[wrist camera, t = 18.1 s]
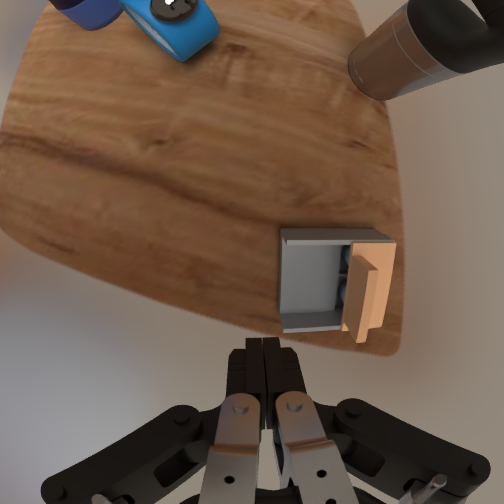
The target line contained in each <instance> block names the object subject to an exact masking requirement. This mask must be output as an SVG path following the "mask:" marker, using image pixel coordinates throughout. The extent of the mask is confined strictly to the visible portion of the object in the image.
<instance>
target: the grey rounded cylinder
mask: <svg viewBox="0 0 504 504" xmlns="http://www.w3.org/2000/svg"><path fill="white" fill-rule="evenodd" d="M346 285H347V278H346V279H345V280H343V281H342V282H341V283H340V285H339V287H338V295H339V297H340V299H341V300H342V302H343V303H344V300H345V293H346Z"/></svg>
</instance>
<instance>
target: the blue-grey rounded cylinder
mask: <svg viewBox="0 0 504 504" xmlns="http://www.w3.org/2000/svg"><path fill="white" fill-rule="evenodd" d="M350 248H351V245H345V246H344V247H343V250H342V258H343V260H344V262H345V263H346V264H347V265H348V266H349V259H350Z"/></svg>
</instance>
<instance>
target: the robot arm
mask: <svg viewBox="0 0 504 504" xmlns="http://www.w3.org/2000/svg"><path fill="white" fill-rule="evenodd" d="M472 2H473V3H474V5H475V6H476V8H477V9H478V11H479V12H480V14H481V15H482V17H483V19H484V20H485V22H486V23H485V22H484V21H483V20H482V19H480V18H479V17H478V16H477V15H476V14H475V13H474V12H473V11H472V10H471V9H470V8H469V7H468V6H466V5H465V4H464V3H463V2H462V1H460V0H409V1H408V2H407V3H405V4H404V5H403V6H402V7H401V8H400V9H398V10H397V11H396V12H395V13H394V14H393V15H392V16H391V17H389V18H388V19H387V20H386V21H385V22H384V23H383V24H382V25H380V26H379V27H378V28H377V29H376V30H375V31H374V32H373V33H372V34H371V35H370V36H369V37H367V38H366V39H365V40H364V41H363V42H362V43H361V44H360V45H359V46H358V47H357V48H356V49H355V50H354V51H353V52H352V53H351V55H350V57H349V61H348V69H349V73H350V75H351V78H352V80H353V81H354V83H355V84H356V86H357V87H358V88H359V89H360V90H361V91H362V92H364V93H365V94H366V95H368V96H370V97H372V98H375V99H378V100H390V99H392V98H395V97H398V96H401V95H404V94H406V93H409V92H412V91H415V90H417V89H420V88H423V87H426V86H429V85H432V84H435V83H437V82H441V81H444V80H447V79H450V78H453V77H456V76H459V75H463V74H466V73H469V72H473V71H476V70H479V69H482V68H485V67H489V66H493V65H497V64H501V63H504V0H472ZM265 418H266V427H267V429H272V430H273V449H274V454H275V459H276V464H277V469H278V474H279V479H280V490H266V489H260V488H257V483H258V464H259V444H260V442H261V430H262V429H265ZM205 465H206V469H205V473H204V478H203V483H202V488H201V493H200V494H197V495H194V496H192V497H190V498H188V499H186V500H184V501H183V502H181V503H180V504H386V503H384V502H382V501H381V500H379V499H377V498H376V497H374V496H372V495H371V494H369V493H367V492H366V491H364V490H362V489H359V488H357V487H354V486H352V484H351V481H350V479H349V476H348V474H347V472H349V473H350V474H352V475H354V476H355V477H357V478H359V479H360V480H362V481H364V482H366V483H367V484H369V485H371V486H373V487H374V488H376V489H378V490H380V491H382V492H384V493H385V494H387V495H389V496H391V497H393V498H395V499H397V500H399V504H464V503H465V501H466V499H467V497H468V496H469V495H470V494H471V493H472V492H473V491H474V490H476V489H477V488H478V487H479V486H480V485H481V484H482V483H483V482H485V481H486V480H487V478H488V477H489V474H490V470H491V469H490V468H491V467H490V463H489V461H488V460H487V459H486V458H485V457H484V456H482V455H480V454H477V453H474V452H472V451H469V450H466V449H464V448H462V447H459V446H457V445H455V444H452V443H450V442H447V441H445V440H443V439H440V438H438V437H436V436H434V435H432V434H429V433H427V432H425V431H423V430H421V429H418V428H416V427H414V426H412V425H410V424H407V423H406V422H404V421H402V420H400V419H398V418H396V417H394V416H392V415H390V414H388V413H386V412H384V411H382V410H380V409H378V408H376V407H374V406H372V405H370V404H368V403H367V402H364V401H363V400H360V399H355V398H351V399H345V400H343V401H341V402H340V403H339V404H338V405H337V406H328V405H322V404H318V403H316V402H314V401H313V400H312V399H311V397H310V396H308V395H307V392H306V388H305V384H304V380H303V376H302V372H301V370H300V364H299V360H298V357H297V354H296V352H294V350H293V349H292V348H291V347H285V348H281V347H280V341H279V337H266V338H263V339H262V338H246V349H234V350H233V351H232V352H231V354H230V355H229V360H228V373H227V388H226V398H225V400H224V401H223V403H222V404H221V405H220V406H218V407H216V408H214V409H212V410H208V411H203V412H199V411H198V410H197V409H196V408H194V407H192V406H188V405H177V406H174V407H171V408H169V409H168V410H166V411H165V412H163V413H162V414H160V415H159V416H157V417H156V418H154V419H153V420H151V421H149V422H148V423H146V424H145V425H143V426H142V427H140V428H138V429H137V430H135V431H134V432H132V433H130V434H128V435H127V436H125V437H123V438H122V439H120V440H119V441H117V442H115V443H113V444H112V445H110V446H108V447H106V448H105V449H103V450H101V451H99V452H98V453H96V454H94V455H92V456H90V457H88V458H86V459H85V460H83V461H81V462H79V463H77V464H75V465H73V466H71V467H69V468H67V469H65V470H63V471H61V472H59V473H57V474H55V475H53V476H51V477H49V478H47V479H46V480H45V481H44V482H43V484H42V486H41V496H42V498H43V500H44V501H45V503H46V504H154V503H156V502H157V501H159V500H160V499H161V498H163V497H165V496H166V495H167V494H169V493H170V492H171V491H173V490H174V489H176V488H177V487H178V486H179V485H181V484H182V483H183V482H185V481H186V480H187V479H189V478H190V477H191V476H193V475H194V474H195V473H196V472H198V471H199V470H200V469H201V468H202V467H204V466H205Z"/></svg>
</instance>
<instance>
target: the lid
mask: <svg viewBox="0 0 504 504" xmlns="http://www.w3.org/2000/svg"><path fill="white" fill-rule="evenodd" d="M395 249H396V243H395V242H393V241H356V242H351V248H350V259H349V268H348V277H347V285H346V293H345V300H344V307H343V314H342V321H341V327H340V328H341V330H342V331H348V330H349V332H350V333H351V335H352V337H353V339H354V340H355V342H356V343H361V342H365V341H366V337H367V332H368V328H376V327H381V326H382V322H383V317H384V313H385V308H386V303H387V298H388V293H389V287H390V282H391V276H392V270H393V263H394V256H395Z"/></svg>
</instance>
